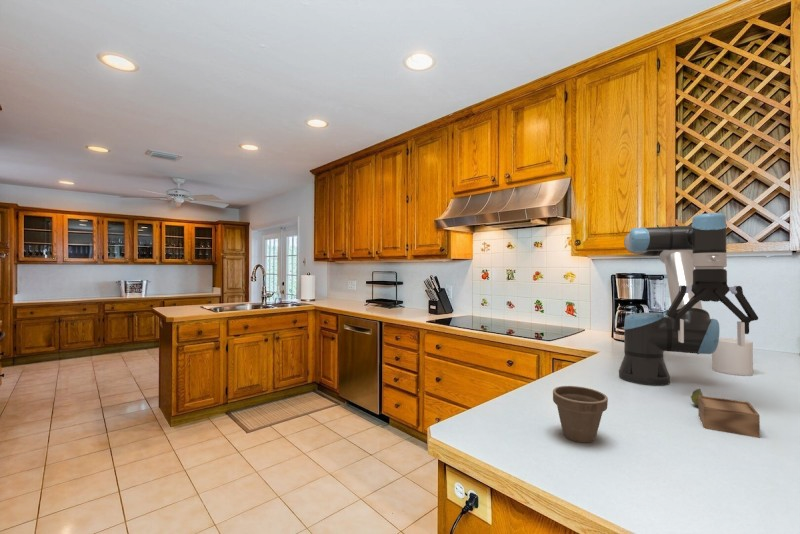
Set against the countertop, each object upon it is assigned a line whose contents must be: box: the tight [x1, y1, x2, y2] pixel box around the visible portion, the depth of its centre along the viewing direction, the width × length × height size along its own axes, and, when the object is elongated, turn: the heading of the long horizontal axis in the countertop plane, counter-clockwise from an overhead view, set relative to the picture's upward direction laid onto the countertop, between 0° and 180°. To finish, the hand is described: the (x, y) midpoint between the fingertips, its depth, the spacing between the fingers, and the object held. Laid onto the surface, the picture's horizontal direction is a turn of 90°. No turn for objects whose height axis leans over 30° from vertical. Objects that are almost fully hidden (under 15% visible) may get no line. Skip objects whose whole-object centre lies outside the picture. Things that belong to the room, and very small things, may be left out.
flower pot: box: [552, 385, 609, 444], centre depth 87 cm, size 12×11×10 cm
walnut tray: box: [697, 395, 761, 439], centre depth 94 cm, size 10×10×6 cm
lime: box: [690, 388, 704, 407], centre depth 107 cm, size 4×5×5 cm
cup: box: [711, 337, 754, 377], centre depth 145 cm, size 12×12×12 cm
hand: (710, 344), depth 108 cm, fingers open, 13 cm apart
